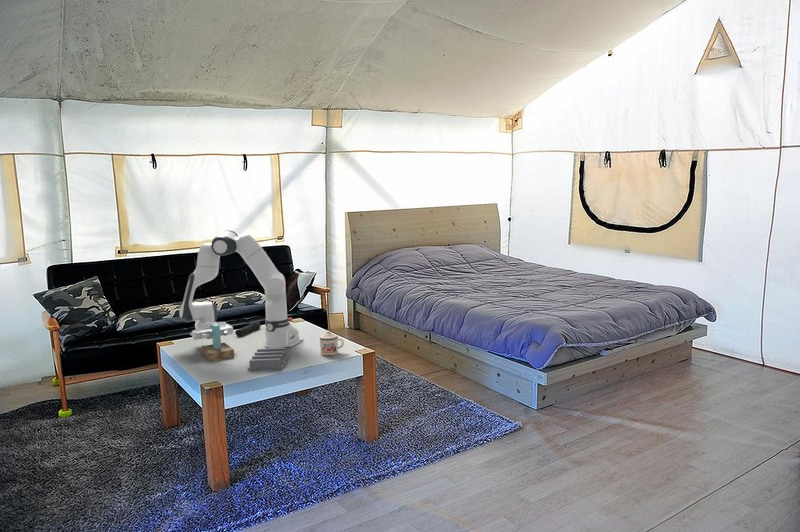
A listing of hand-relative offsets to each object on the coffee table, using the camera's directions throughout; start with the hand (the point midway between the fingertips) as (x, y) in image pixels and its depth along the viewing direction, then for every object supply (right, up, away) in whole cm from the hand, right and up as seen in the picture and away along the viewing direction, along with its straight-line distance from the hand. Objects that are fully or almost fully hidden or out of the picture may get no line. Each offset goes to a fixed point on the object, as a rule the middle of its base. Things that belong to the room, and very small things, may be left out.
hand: (216, 335), depth 294 cm
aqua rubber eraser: (0, -7, +2) cm, 7 cm away
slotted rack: (+29, -12, -13) cm, 34 cm away
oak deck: (0, -10, +2) cm, 11 cm away
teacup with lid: (+58, -10, +1) cm, 59 cm away
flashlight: (+4, -4, +48) cm, 48 cm away
